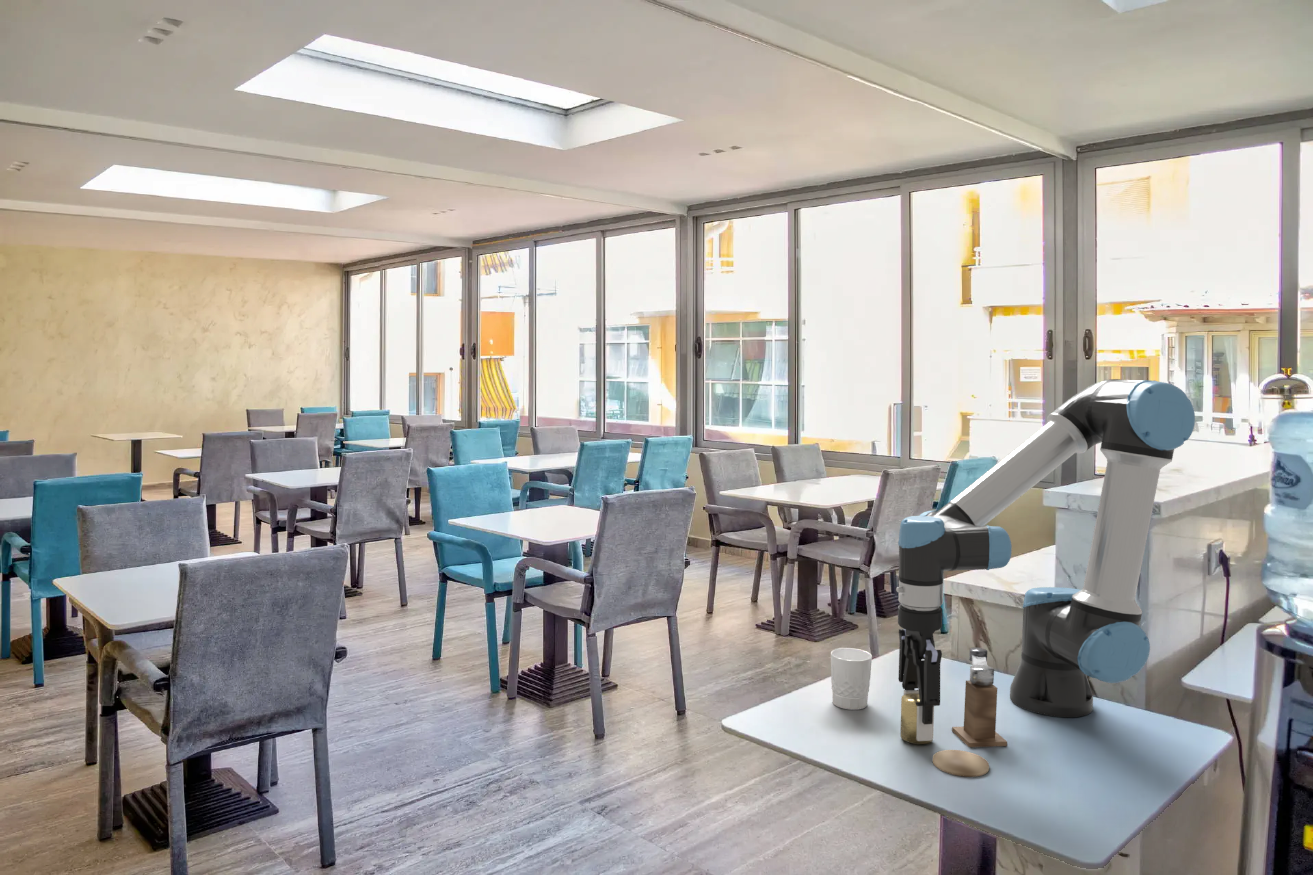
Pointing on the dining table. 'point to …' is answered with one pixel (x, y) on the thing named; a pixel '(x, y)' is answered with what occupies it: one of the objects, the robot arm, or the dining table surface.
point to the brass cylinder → (910, 718)
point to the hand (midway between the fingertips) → (917, 732)
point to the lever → (980, 667)
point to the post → (980, 717)
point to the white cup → (850, 677)
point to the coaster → (960, 763)
